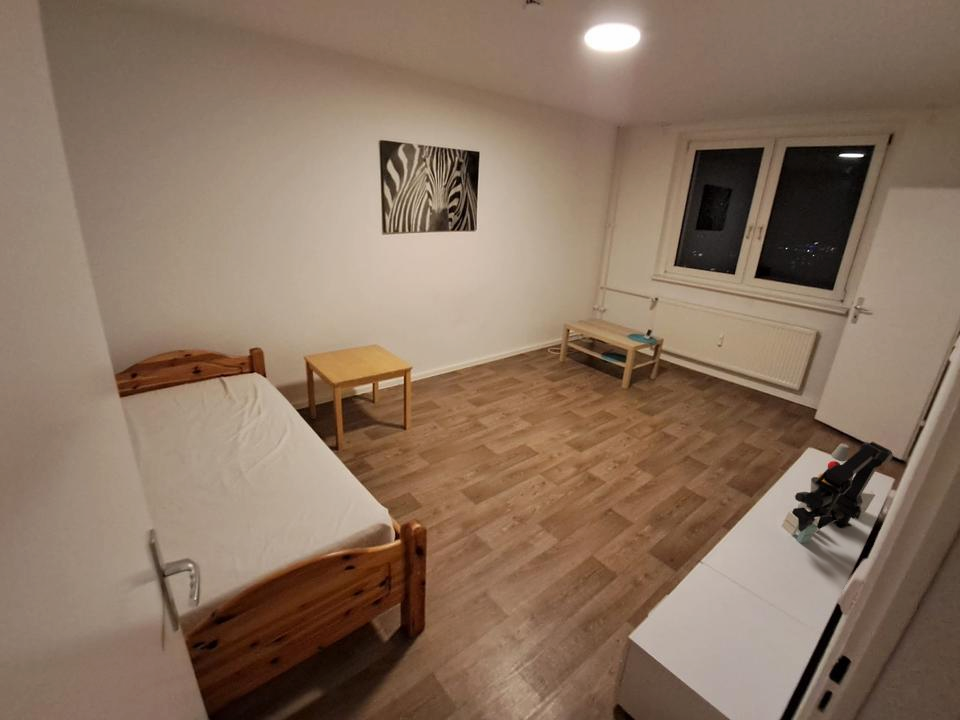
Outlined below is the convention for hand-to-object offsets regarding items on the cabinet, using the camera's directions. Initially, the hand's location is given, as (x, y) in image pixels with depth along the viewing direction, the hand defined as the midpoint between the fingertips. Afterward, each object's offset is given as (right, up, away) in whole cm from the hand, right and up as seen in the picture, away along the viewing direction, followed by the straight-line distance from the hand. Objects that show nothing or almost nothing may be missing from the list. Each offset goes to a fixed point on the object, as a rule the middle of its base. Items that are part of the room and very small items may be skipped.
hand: (809, 529), depth 171 cm
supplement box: (+34, 0, +22) cm, 40 cm away
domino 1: (-3, -3, +7) cm, 8 cm away
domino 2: (+4, -3, +9) cm, 10 cm away
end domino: (+8, -3, +10) cm, 13 cm away
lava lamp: (+14, 0, +19) cm, 24 cm away
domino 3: (-1, -6, +3) cm, 6 cm away
